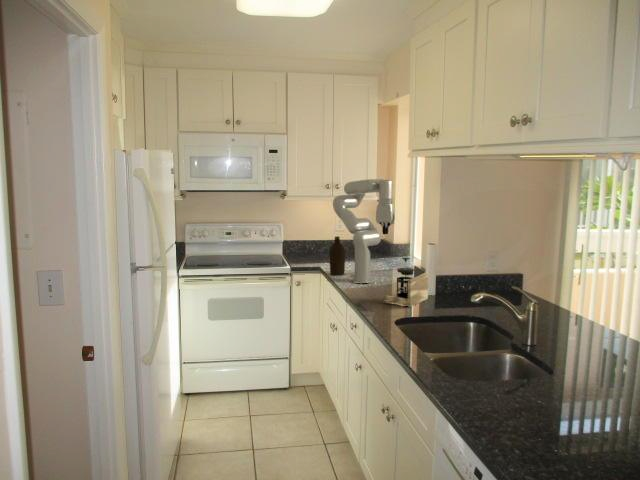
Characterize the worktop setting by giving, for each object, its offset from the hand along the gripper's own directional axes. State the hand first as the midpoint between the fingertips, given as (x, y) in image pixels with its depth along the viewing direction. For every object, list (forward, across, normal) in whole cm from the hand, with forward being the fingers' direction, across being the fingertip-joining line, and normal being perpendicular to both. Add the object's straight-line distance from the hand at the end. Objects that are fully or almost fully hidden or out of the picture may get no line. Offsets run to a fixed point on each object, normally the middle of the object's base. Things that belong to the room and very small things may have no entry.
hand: (385, 234), depth 277 cm
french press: (+32, +21, -16) cm, 42 cm away
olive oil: (+32, -45, +18) cm, 59 cm away
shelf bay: (+32, +21, -16) cm, 42 cm away
